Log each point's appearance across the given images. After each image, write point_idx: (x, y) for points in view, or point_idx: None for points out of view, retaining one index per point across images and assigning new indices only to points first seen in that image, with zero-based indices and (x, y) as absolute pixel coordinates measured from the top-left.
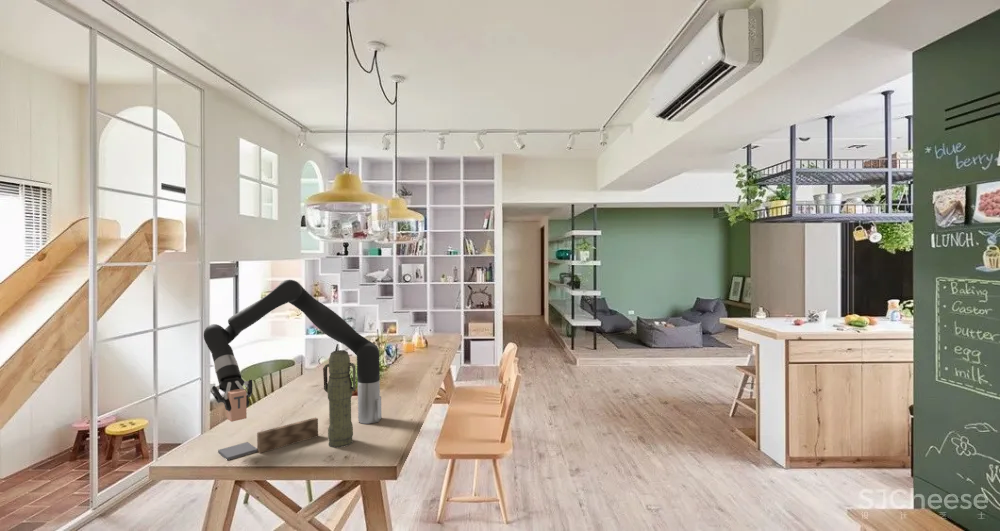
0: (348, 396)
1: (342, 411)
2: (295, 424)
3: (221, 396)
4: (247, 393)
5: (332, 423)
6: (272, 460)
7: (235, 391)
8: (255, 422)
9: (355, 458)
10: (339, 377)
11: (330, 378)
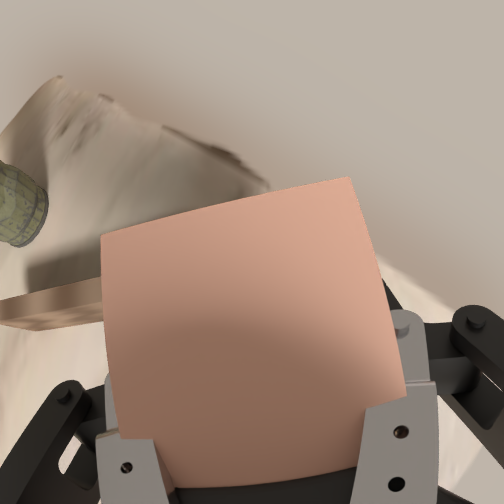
0: None
1: None
2: (47, 289)
3: (470, 338)
4: (104, 406)
5: (2, 169)
6: (192, 187)
7: (260, 328)
8: None
9: (60, 115)
10: None
11: None
